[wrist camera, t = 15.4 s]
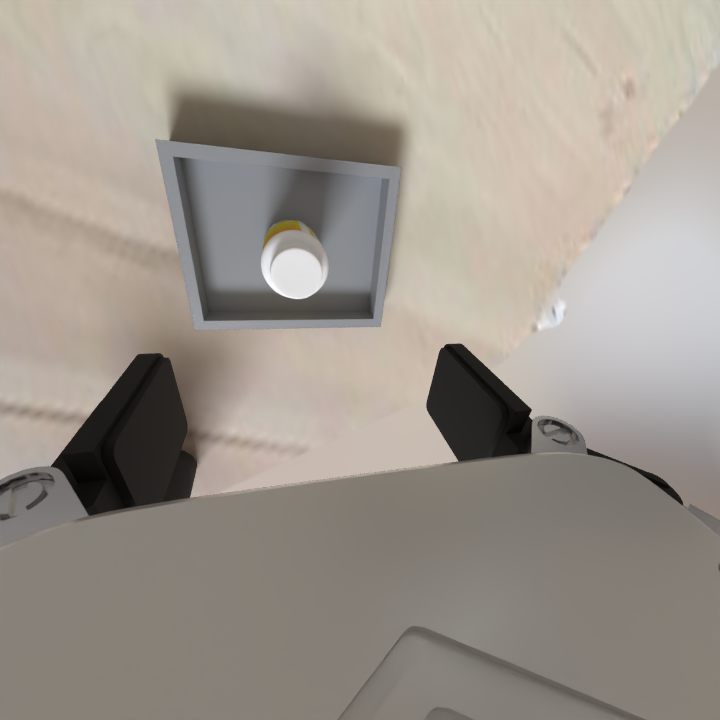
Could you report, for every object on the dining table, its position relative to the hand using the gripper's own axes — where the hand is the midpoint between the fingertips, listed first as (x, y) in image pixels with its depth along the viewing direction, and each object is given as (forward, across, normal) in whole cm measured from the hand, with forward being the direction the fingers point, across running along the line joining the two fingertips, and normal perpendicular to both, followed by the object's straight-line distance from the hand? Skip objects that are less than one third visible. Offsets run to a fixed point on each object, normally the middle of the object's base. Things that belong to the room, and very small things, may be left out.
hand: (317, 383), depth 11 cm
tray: (+26, 0, 0) cm, 26 cm away
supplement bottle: (+25, 0, 0) cm, 25 cm away
